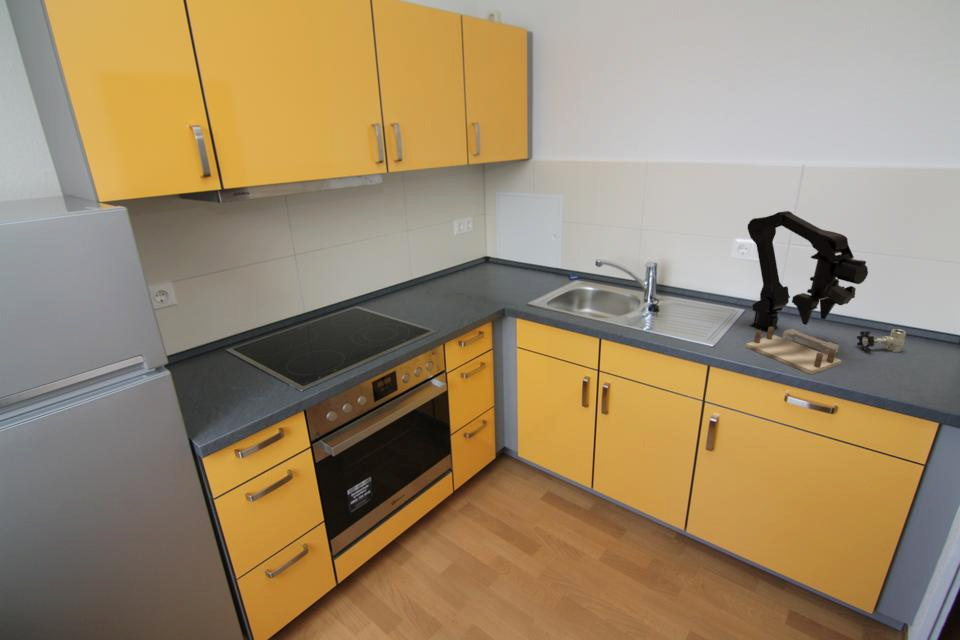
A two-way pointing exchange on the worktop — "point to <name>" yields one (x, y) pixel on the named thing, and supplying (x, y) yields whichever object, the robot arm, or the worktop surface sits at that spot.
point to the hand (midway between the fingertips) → (814, 321)
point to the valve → (883, 340)
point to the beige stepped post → (809, 341)
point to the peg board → (792, 353)
